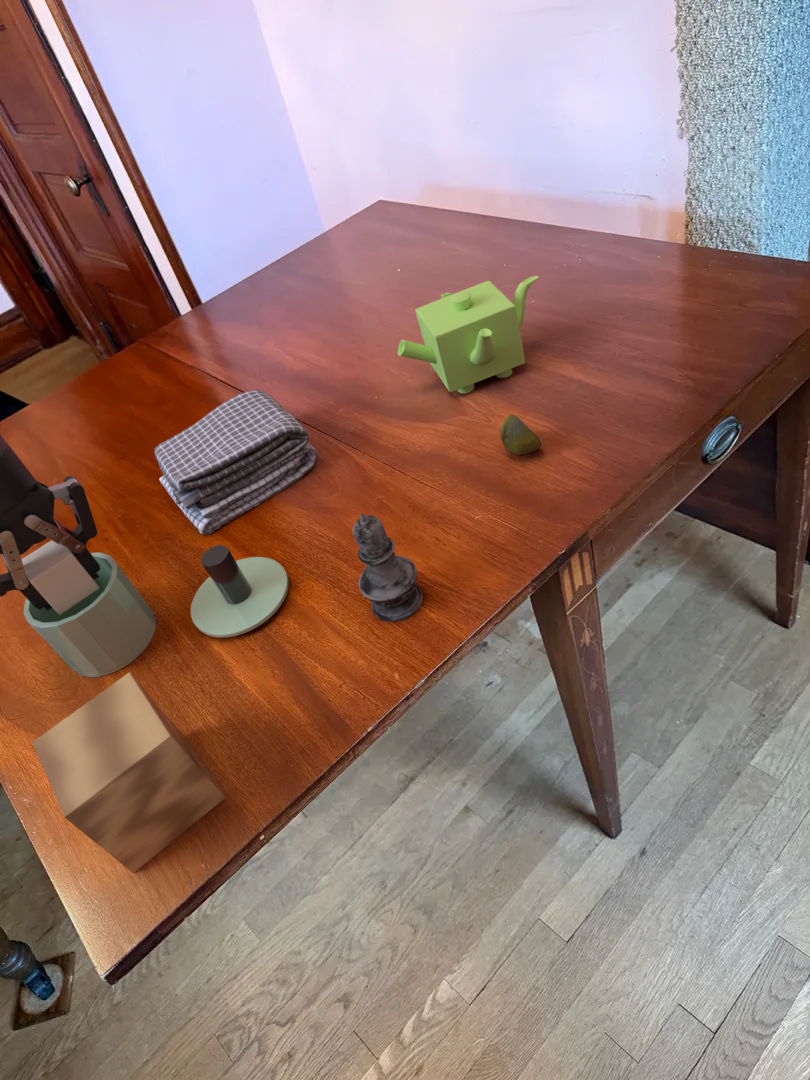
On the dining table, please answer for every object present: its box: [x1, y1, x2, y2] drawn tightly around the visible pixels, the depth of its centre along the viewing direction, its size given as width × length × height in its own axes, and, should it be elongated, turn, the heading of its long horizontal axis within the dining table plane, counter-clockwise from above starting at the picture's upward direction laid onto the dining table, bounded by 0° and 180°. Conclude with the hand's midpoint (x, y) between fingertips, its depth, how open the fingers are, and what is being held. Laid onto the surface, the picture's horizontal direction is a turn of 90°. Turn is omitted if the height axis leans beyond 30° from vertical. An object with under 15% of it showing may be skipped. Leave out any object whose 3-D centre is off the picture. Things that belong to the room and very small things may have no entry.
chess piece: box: [352, 513, 424, 623], centre depth 71 cm, size 6×6×12 cm
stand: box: [31, 672, 226, 874], centre depth 62 cm, size 9×9×10 cm
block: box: [21, 540, 99, 615], centre depth 75 cm, size 4×4×5 cm
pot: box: [23, 551, 157, 678], centre depth 79 cm, size 10×10×8 cm
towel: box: [154, 389, 318, 536], centre depth 95 cm, size 15×18×8 cm
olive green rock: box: [499, 413, 543, 455], centre depth 84 cm, size 4×5×5 cm
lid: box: [190, 544, 290, 639], centre depth 78 cm, size 11×11×7 cm
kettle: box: [397, 275, 539, 394], centre depth 97 cm, size 15×14×11 cm
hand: (71, 589), depth 76 cm, fingers closed on block, 4 cm apart
